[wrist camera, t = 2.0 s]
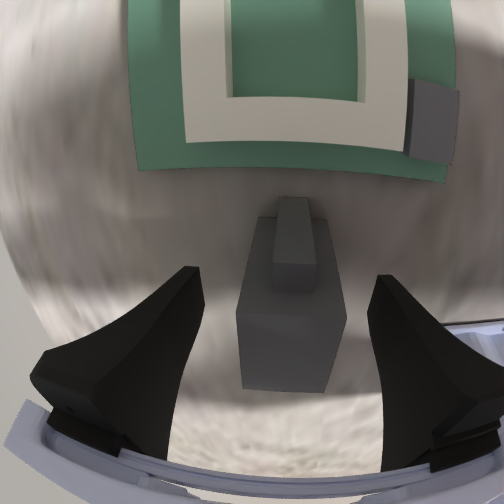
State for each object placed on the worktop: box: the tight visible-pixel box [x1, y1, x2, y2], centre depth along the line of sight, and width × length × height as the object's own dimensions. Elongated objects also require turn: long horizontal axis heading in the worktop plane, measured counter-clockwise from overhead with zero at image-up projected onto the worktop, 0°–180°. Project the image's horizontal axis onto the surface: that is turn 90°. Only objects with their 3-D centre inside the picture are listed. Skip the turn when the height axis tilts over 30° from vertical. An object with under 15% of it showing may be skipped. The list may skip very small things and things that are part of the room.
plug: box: [236, 197, 347, 393], centre depth 11 cm, size 3×5×6 cm, turn 1°
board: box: [127, 0, 459, 183], centre depth 7 cm, size 13×11×2 cm
